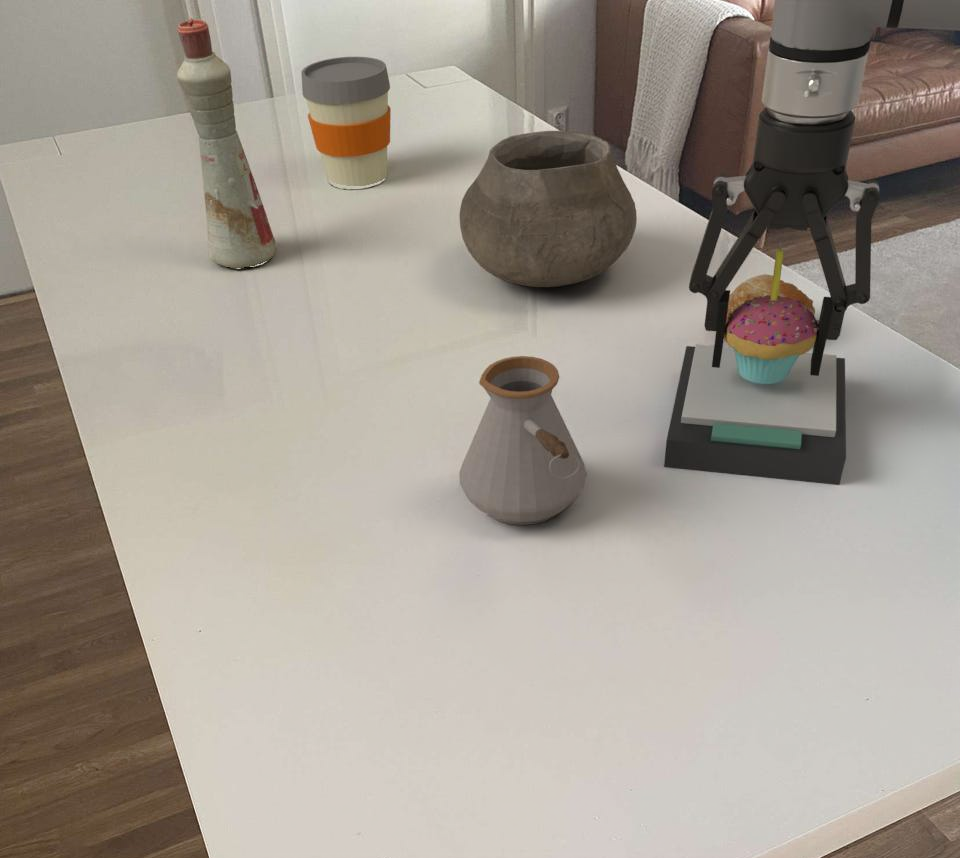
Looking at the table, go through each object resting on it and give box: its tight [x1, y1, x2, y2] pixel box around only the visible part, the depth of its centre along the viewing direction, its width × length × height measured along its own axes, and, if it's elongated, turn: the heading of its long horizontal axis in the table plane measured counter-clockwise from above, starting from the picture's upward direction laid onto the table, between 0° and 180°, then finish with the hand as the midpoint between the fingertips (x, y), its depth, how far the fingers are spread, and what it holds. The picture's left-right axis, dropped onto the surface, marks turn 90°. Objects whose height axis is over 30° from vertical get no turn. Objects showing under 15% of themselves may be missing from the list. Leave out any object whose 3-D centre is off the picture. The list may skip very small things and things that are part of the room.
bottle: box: [176, 17, 277, 269], centre depth 124 cm, size 9×9×28 cm
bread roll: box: [724, 273, 816, 343], centre depth 112 cm, size 10×10×8 cm
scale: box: [663, 344, 847, 485], centre depth 99 cm, size 16×18×4 cm
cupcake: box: [725, 239, 819, 384], centre depth 93 cm, size 9×8×12 cm
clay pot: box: [458, 130, 638, 288], centre depth 121 cm, size 22×21×15 cm
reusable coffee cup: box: [301, 56, 391, 186], centre depth 147 cm, size 13×13×15 cm
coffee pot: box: [459, 355, 587, 526], centre depth 84 cm, size 21×12×15 cm, turn 11°
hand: (765, 364), depth 97 cm, fingers closed on cupcake, 8 cm apart
